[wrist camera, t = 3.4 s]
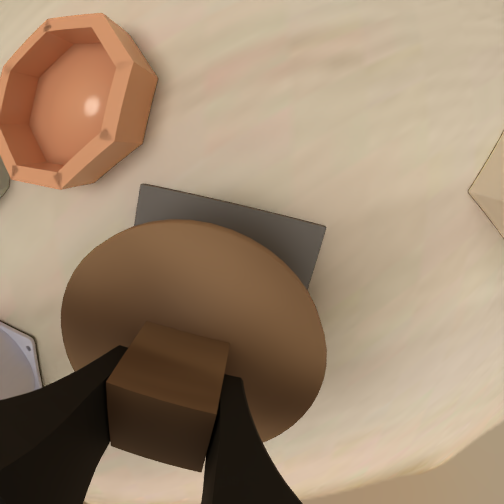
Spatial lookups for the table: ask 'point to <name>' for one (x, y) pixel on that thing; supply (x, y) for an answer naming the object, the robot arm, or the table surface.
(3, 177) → the bowl slate
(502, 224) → the milk
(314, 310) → the lid
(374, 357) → the table surface
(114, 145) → the bowl terracotta
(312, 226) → the mat
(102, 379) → the robot arm
